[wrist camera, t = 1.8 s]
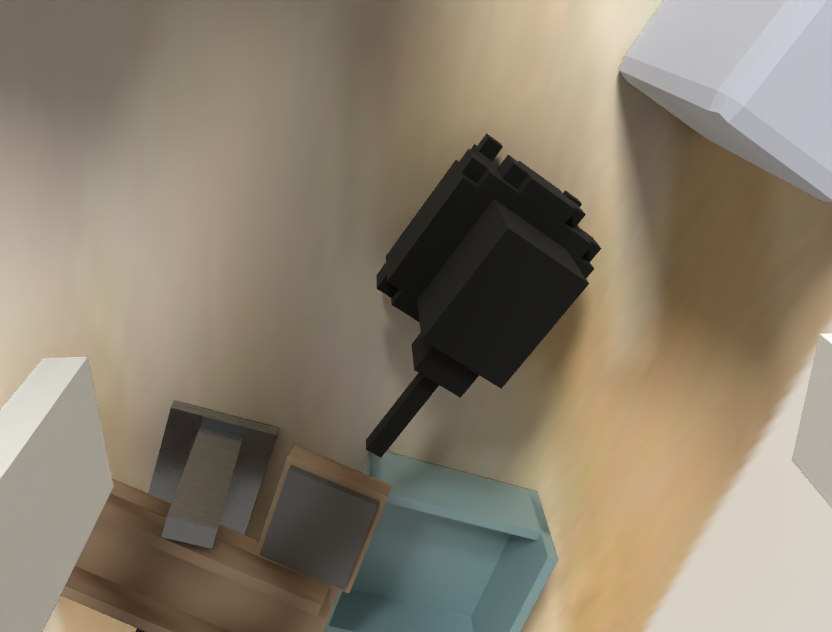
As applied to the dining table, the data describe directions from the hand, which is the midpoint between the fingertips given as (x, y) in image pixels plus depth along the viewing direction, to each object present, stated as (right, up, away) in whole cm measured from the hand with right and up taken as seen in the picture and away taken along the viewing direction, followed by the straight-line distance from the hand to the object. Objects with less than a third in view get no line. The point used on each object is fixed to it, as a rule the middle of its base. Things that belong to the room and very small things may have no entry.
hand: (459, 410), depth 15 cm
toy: (+1, +4, +28) cm, 28 cm away
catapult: (-13, -8, +26) cm, 30 cm away
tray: (0, -12, +35) cm, 37 cm away
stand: (-13, -8, +33) cm, 36 cm away
